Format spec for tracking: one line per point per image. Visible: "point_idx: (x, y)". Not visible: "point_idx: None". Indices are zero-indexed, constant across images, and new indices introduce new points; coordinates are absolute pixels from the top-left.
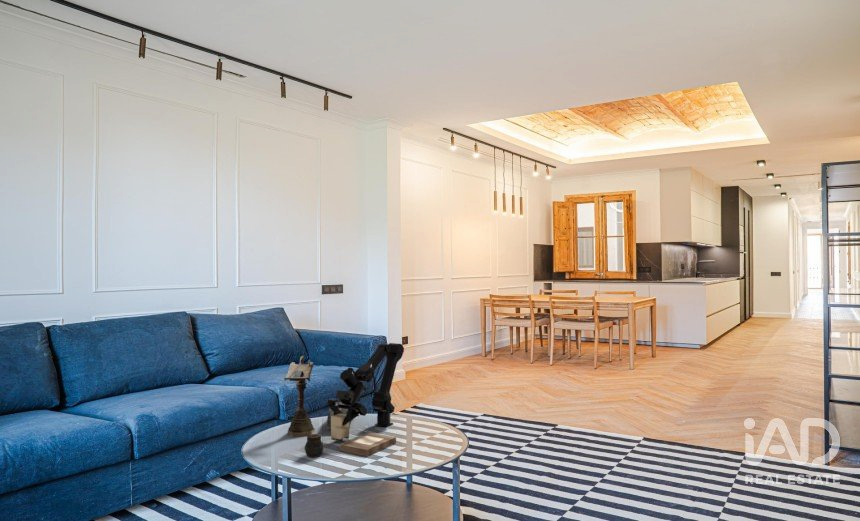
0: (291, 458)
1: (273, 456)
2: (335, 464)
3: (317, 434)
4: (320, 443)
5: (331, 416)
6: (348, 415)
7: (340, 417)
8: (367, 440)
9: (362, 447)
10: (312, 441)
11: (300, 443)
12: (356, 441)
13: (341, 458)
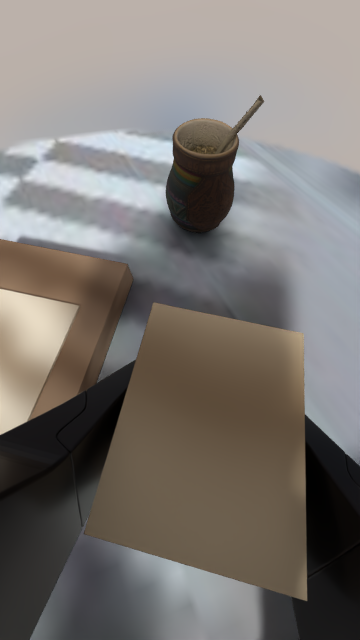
0: (245, 187)
1: (306, 188)
2: (98, 179)
3: (204, 156)
4: (171, 171)
5: (294, 332)
6: (55, 407)
7: (158, 321)
8: (2, 347)
9: (16, 255)
10: (194, 139)
11: (338, 316)
12: (59, 315)
13: (98, 218)
